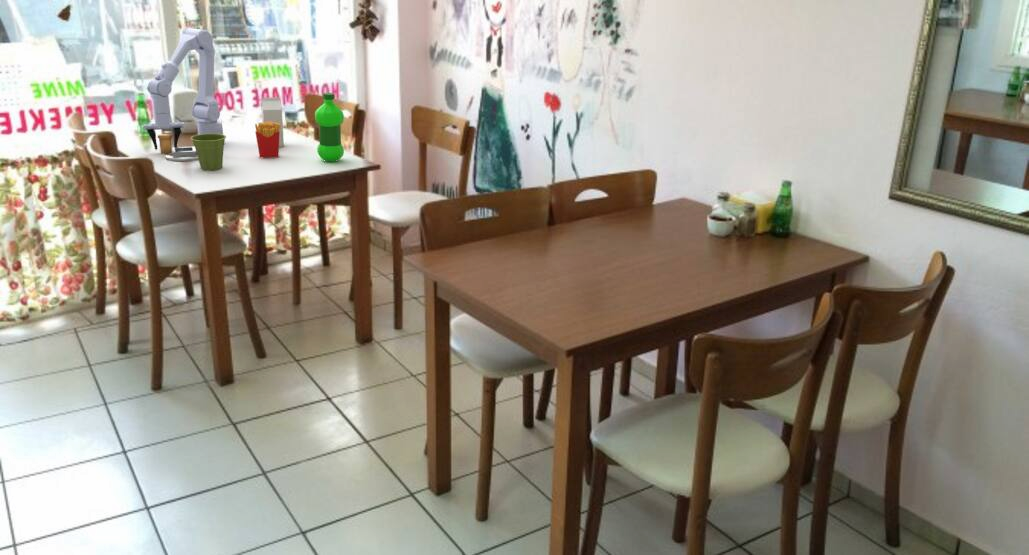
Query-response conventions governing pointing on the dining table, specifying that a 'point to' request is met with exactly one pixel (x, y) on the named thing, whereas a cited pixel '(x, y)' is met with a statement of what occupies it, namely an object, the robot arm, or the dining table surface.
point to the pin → (165, 143)
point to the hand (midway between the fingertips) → (165, 148)
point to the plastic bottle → (329, 129)
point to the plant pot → (209, 150)
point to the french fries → (268, 139)
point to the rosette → (182, 154)
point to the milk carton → (273, 114)
